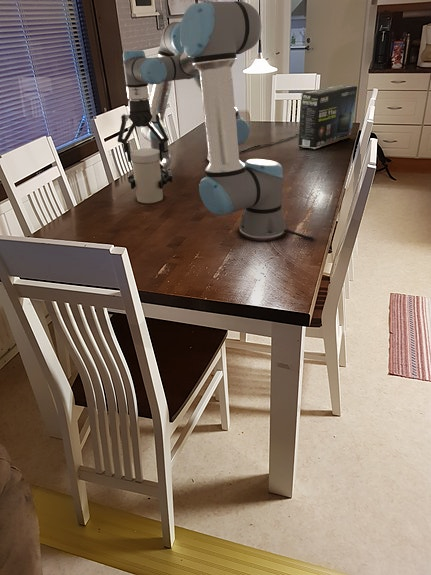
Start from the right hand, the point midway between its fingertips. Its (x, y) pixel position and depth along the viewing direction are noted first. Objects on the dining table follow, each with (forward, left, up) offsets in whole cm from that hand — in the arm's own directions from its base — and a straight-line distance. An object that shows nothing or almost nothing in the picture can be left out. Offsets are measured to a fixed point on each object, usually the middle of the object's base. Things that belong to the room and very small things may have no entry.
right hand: (145, 160), depth 173 cm
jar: (0, 0, -15) cm, 15 cm away
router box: (-35, -108, -15) cm, 115 cm away
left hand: (-2, +4, -8) cm, 9 cm away
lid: (0, 0, +3) cm, 3 cm away
